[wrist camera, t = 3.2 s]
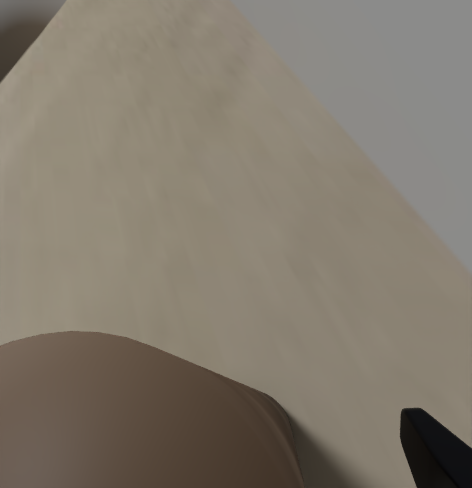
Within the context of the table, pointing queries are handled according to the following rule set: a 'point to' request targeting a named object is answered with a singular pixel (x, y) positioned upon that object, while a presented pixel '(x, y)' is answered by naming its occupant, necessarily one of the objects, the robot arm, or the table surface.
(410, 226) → the table surface
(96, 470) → the peg
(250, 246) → the table surface
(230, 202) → the table surface
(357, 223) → the table surface
